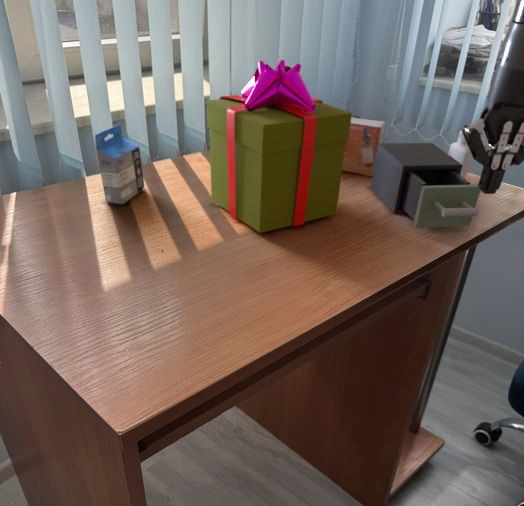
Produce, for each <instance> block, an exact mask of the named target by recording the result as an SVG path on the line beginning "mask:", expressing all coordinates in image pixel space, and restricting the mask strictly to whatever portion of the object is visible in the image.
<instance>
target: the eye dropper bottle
mask: <svg viewBox="0 0 524 506" xmlns="http://www.w3.org/2000/svg"><path fill="white" fill-rule="evenodd" d="M468 125H469V126H471V124H468ZM447 154H448V155H450V156H451V157H452V158H454V159H455V160H457V161H458V162H459V163H461V164H462V165H463V166H462V169H461V173H460V176H462V177H463V178H464V179H466V180H467V177H468V172H469V169H470V165H471V162H472V159H473V156H472V154H471V152H470V149H469V147H468V144H467V142H466V140H465V137H464V135H463V133H462V130H460V131H459V133H458V138H457V141H454V142H453V143H451V144H450V146H449V150H448V153H447Z"/></svg>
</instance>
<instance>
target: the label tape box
mask: <svg viewBox="0 0 524 506" xmlns="http://www.w3.org/2000/svg"><path fill="white" fill-rule="evenodd" d="M122 130H123V129H122V123H117V124H116V125H114V126H111V127H109V128H106V129H105V130H102V131H100V132H98V133H96V134H95V135H94V141H95V149H96V155H97V161H98V166H99V171H100V178H101V182H102V188H103V194H104V199H105V202H106V203H111V204H113V205H114V204H116V205H124V204H126V203H127V202H128V201H130V200H131V199H132V198H134V197H135V196H136V195H138V194H140V193H141V192H142V191H143V190H145V189H146V187H145V181H144V180H145V179H144V173H143V172H144V171H143V166H142V157H141V150H140V147H139V146H138V145H137V144H135V143H133V142H132V141H130V140H128V139H126V138H125V137H123V136H122V135H123V133H122ZM109 135H110V136H111V135H112V137H110V138H108V139H106V138H107V137H108V136H109Z"/></svg>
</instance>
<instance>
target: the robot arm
mask: <svg viewBox="0 0 524 506" xmlns="http://www.w3.org/2000/svg"><path fill="white" fill-rule="evenodd" d="M496 61H497V62H496V66H495V69H494V72H493V76H492V79H491V83H490V86H489V90H488V94H487V103H486V105H485V107H484V109H483V110H482V112H481V113H480V116H479V119H478V120H476V121H475V122H473V123H472V124H465V125H463V127H462V128H461V131H462V133H463V135H464V137H465V140H466V142H467V144H468V147H469V149H470V152H471V154H472V159H473V160H474V161H476V162H477V163H478V164H480V165H481V166H482V170H481V174H480V177H479V179H478V183H477V184H478V186H479V188H480V192H482V193H483V194H484V195H495V194H496V193H497V191H498V190H499V189H500V188H501V185H502V182H503V180H504V176H505V173H506V170H508V169H509V168H510V167H512V166H520V165H521V164H522V163H523V162H524V0H516V2H515V5H514V10H513V13H512V16H511V21H510V23H509V26H508V28H507V31H506V33H505V36H504V38H503V41H502V44H501V48H500V51H499V54H498V59H497V60H496ZM469 125H470V126H469ZM484 136H485V138H486V140H485V143H483V140H482V139H483V137H484Z"/></svg>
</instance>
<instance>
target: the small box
mask: <svg viewBox="0 0 524 506" xmlns="http://www.w3.org/2000/svg"><path fill="white" fill-rule="evenodd" d="M360 118H361V117H360ZM360 118H355V117H351V123H350V130H349V138H348V140H346V143H345V151H344V159H343V166H342V172H347V173H354V174H359V175H363V176H368V177H373V172H374V166H375V161H376V155H377V149H378V144H383V140H384V133H385V128H386V121H384V120H374V119H367V118H366V119H365V118H361V119H360Z"/></svg>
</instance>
